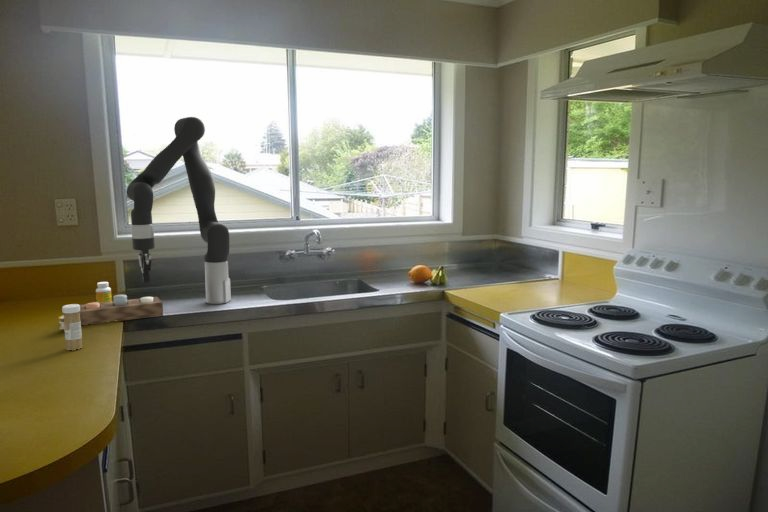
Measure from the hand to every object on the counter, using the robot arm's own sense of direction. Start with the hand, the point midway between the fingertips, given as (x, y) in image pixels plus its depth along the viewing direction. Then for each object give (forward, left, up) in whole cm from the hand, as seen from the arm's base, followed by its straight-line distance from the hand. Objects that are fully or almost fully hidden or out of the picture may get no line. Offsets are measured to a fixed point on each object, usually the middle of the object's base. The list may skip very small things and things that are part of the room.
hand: (146, 282), depth 196 cm
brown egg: (+15, +10, -11) cm, 21 cm away
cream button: (0, 0, -11) cm, 11 cm away
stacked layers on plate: (+15, +23, -13) cm, 30 cm away
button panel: (+8, +5, -12) cm, 15 cm away
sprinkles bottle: (+3, +41, -13) cm, 43 cm away
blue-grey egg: (+8, +5, -9) cm, 13 cm away
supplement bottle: (+23, -10, -13) cm, 28 cm away
